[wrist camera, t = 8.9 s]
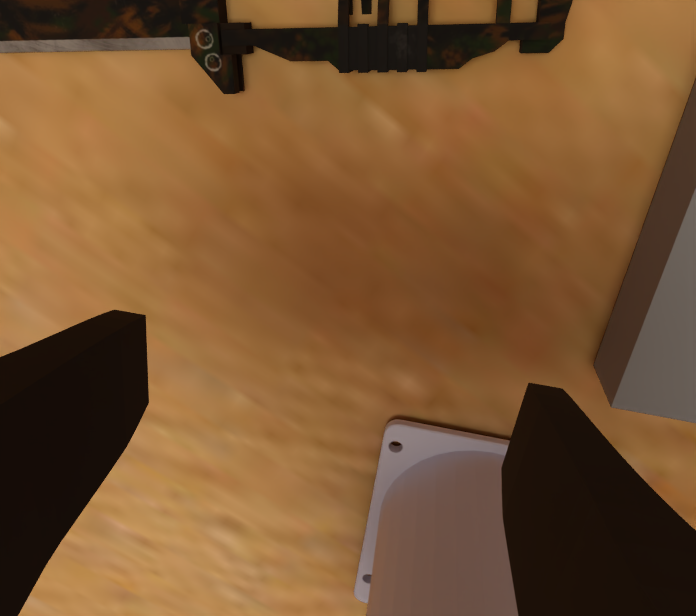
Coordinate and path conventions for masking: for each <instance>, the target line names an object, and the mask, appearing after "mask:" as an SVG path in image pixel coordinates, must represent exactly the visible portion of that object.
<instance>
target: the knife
mask: <svg viewBox="0 0 696 616" xmlns="http://www.w3.org/2000/svg"><path fill="white" fill-rule="evenodd" d="M361 4H362V14H371V0H361ZM511 4H512V0H497V13H496V23H495V24H453V25H428V5H429V0H418V25H410V26H408V23H397V26H388V17H389V0H378V21H377V26H369V24H358V27H349V15H353V2H352V0H338V27H325V28H283V29H252V27H251V23H228V21H227V10H226V0H0V53H11V52H63V51H114V50H166V49H191V55H192V57H193V58H194V59H195V60H196V61H197V63H198V64H199V65H200V66H201V67H202V69H203V70H204V71H205V72H206V73H207V74H208V76H209V77H210V78H211V79H212V80H213V82H214V83H215V84H216V85H217V86H218V87H219V89H220V90H221V91H222V92H223V93H224V94H236V93H239V92H240V91H245V89H244V78H243V67H242V55H241V54H250V53H254V51H253V45H254V46H256V47H258V48H261V49H263V50H265V51H268V52H270V53H273V54H275V55H277V56H280V57H282V58H284V59H287V60H289V61H329V62H330V63H331V64H332V65H334V66H335V67H336V68H337V69H338V70H339V73H349V72H351V71H353V70H358V73H368V72H370V71H371V70H377V72H388V71H389V70H397V72H407V71H408V69H417V70H416V72H426V71H427V69H459V68H460V67H462V66H463V65H464V64H466V63H467V62H468V61H469V60H471V59H472V58H475V57H478V56H481V55H484V54H487V53H490V52H494V51H495V50H497V49H498V48H499V47H501V46H502V45H503V44H505V43H506V42H507V41H508V40H520V50H519V52H520V53H549V52H550V51H551V50H552V49H553V48H554V47H555V46H556V45H557V44H559V43H560V42H561V41H562V40H563V38H564V29H565V21H566V19H567V16H568V13H569V10H570V7H571V4H572V0H538V8H537V18H536V22H533V23H510V16H511Z"/></svg>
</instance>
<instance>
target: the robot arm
mask: <svg viewBox="0 0 696 616" xmlns="http://www.w3.org/2000/svg"><path fill="white" fill-rule="evenodd" d="M148 403H149V395H148V368H147V342H146V315H142V314H136V313H130V312H125V311H119V310H112V311H109V312H106V313H103V314H101V315H98V316H96V317H93V318H91V319H88V320H86V321H84V322H81V323H79V324H77V325H75V326H72V327H70V328H68V329H65V330H63V331H61V332H59V333H56V334H54V335H52V336H49V337H47V338H45V339H43V340H40V341H38V342H36V343H33V344H31V345H29V346H26V347H24V348H22V349H19V350H17V351H15V352H12V353H10V354H7V355H5V356H2V357H0V616H18V614H19V613H20V611H21V609H22V607H23V605H24V604H25V602H26V600H27V598H28V596H29V595H30V593H31V591H32V589H33V587H34V586H35V584H36V582H37V580H38V578H39V577H40V575H41V573H42V571H43V569H44V568H45V566H46V564H47V563H48V561H49V560H50V558H51V556H52V555H53V553H54V552H55V550H56V549H57V547H58V545H59V544H60V542H61V541H62V539H63V538H64V537H65V535H66V534H67V532H68V531H69V529H70V528H71V527H72V525H73V524H74V522H75V521H76V519H77V518H78V517H79V515H80V514H81V512H82V511H83V509H84V508H85V507H86V505H87V504H88V502H89V501H90V499H91V498H92V497H93V495H94V494H95V492H96V491H97V489H98V488H99V487H100V485H101V484H102V482H103V481H104V479H105V478H106V476H107V475H108V474H109V472H110V471H111V469H112V468H113V466H114V465H115V463H116V462H117V460H118V459H119V457H120V456H121V454H122V453H123V451H124V450H125V448H126V447H127V445H128V443H129V441H130V439H131V438H132V436H133V434H134V432H135V430H136V428H137V426H138V424H139V422H140V420H141V418H142V416H143V414H144V412H145V410H146V407H147V405H148ZM392 441H397V442H400V443H401V444H402V445H400V446H394V445H392V444H391V442H392ZM366 574H370V575H372V576H368V575H366ZM354 596H355V597H356V598H357V599H358V600H359V601H361V602H364V603H368V605H367V613H366V616H696V530H695V529H693V528H692V527H691V526H690V525H689V524H688V523H687V522H686V521H685V520H684V519H683V518H682V517H680V516H679V515H678V514H677V513H676V512H675V511H674V510H673V509H672V508H671V507H670V506H669V505H668V504H667V503H666V502H665V501H664V500H663V499H662V498H661V497H660V496H659V495H658V494H657V493H656V492H655V491H654V490H653V489H652V488H651V487H650V486H649V485H648V484H647V483H646V482H645V481H644V480H643V479H642V478H641V477H640V476H639V474H638V473H637V472H636V471H635V470H634V469H633V468H632V467H631V466H630V465H629V464H628V463H627V462H626V460H625V459H624V458H623V457H622V456H621V455H620V454H619V453H618V452H617V450H616V449H615V448H614V447H613V446H612V445H611V444H610V443H609V441H608V440H607V439H606V438H605V437H604V436H603V435H602V433H601V432H600V431H599V430H598V429H597V427H596V426H595V425H594V424H593V423H592V422H591V420H590V419H589V418H588V417H587V416H586V415H585V413H584V412H583V411H582V410H581V409H580V408H579V406H578V405H577V404H576V403H575V402H574V401H573V400H572V398H571V397H570V396H569V395H568V394H567V393H566V392H565V391H564V390H563V389H561V388H556V387H550V386H544V385H539V384H533V383H528V386H527V389H526V392H525V395H524V399H523V402H522V405H521V408H520V411H519V414H518V417H517V420H516V424H515V427H514V430H513V433H512V436H511V439H510V441H509V440H504V439H499V438H494V437H489V436H484V435H478V434H473V433H468V432H463V431H458V430H452V429H447V428H442V427H437V426H432V425H426V424H421V423H416V422H411V421H406V420H400V419H395V420H392V421H390V422H389V423H387V425H386V427H385V431H384V436H383V441H382V447H381V452H380V457H379V462H378V468H377V473H376V478H375V483H374V488H373V494H372V499H371V504H370V509H369V514H368V520H367V525H366V530H365V535H364V541H363V546H362V551H361V556H360V561H359V567H358V572H357V577H356V582H355V588H354Z"/></svg>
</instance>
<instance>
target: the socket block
mask: <svg viewBox="0 0 696 616" xmlns="http://www.w3.org/2000/svg"><path fill="white" fill-rule="evenodd" d="M594 368H595V370H596V373H597V375H598V377H599V380H600V382H601V384H602V387H603V389H604V392H605V394H606V396H607V399H608V401H609V404H610V406H611V407H612V408H618V409H623V410H628V411H634V412H639V413H645V414H650V415H655V416H661V417H666V418H671V419H677V420H682V421H687V422H693V423H696V80H695V83H694V85H693V88H692V91H691V94H690V97H689V99H688V102H687V105H686V108H685V111H684V113H683V116H682V119H681V122H680V125H679V127H678V130H677V133H676V136H675V139H674V141H673V144H672V147H671V150H670V153H669V155H668V158H667V161H666V164H665V167H664V169H663V172H662V175H661V178H660V181H659V183H658V186H657V189H656V192H655V195H654V197H653V200H652V203H651V206H650V209H649V211H648V214H647V217H646V220H645V223H644V225H643V228H642V231H641V234H640V237H639V239H638V242H637V245H636V248H635V251H634V253H633V256H632V259H631V262H630V265H629V267H628V270H627V273H626V276H625V279H624V281H623V284H622V287H621V290H620V293H619V295H618V298H617V301H616V304H615V307H614V309H613V312H612V315H611V318H610V320H609V323H608V326H607V329H606V332H605V334H604V337H603V340H602V343H601V346H600V348H599V351H598V354H597V357H596V360H595V362H594Z"/></svg>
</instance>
